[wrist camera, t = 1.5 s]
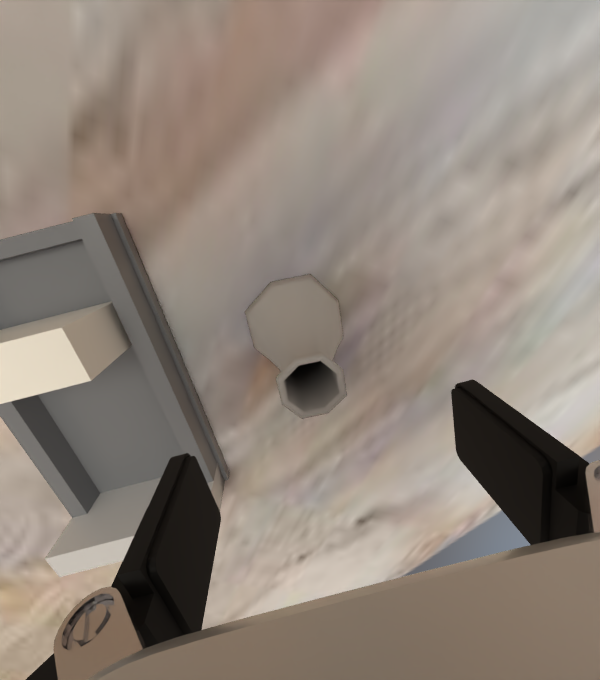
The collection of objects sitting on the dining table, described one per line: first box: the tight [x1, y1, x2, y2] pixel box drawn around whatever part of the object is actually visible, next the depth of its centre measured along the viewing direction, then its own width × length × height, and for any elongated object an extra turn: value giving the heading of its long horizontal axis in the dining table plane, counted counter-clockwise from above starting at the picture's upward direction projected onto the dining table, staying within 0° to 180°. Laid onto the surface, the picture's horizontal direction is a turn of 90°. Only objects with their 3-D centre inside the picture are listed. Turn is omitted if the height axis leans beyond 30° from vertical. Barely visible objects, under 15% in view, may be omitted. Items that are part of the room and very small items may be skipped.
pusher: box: [0, 301, 132, 404], centre depth 18 cm, size 3×8×6 cm, turn 103°
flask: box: [245, 274, 347, 419], centre depth 19 cm, size 7×7×10 cm
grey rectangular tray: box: [0, 213, 229, 577], centre depth 21 cm, size 22×12×6 cm, turn 14°
